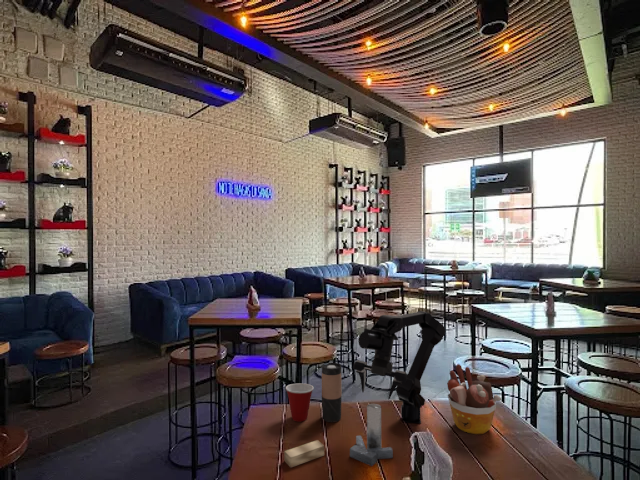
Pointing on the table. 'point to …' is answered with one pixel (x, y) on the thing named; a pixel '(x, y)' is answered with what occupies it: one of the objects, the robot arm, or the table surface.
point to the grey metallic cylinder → (373, 426)
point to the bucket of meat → (471, 402)
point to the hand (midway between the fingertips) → (375, 395)
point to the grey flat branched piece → (369, 452)
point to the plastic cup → (299, 400)
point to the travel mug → (331, 392)
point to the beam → (304, 453)
